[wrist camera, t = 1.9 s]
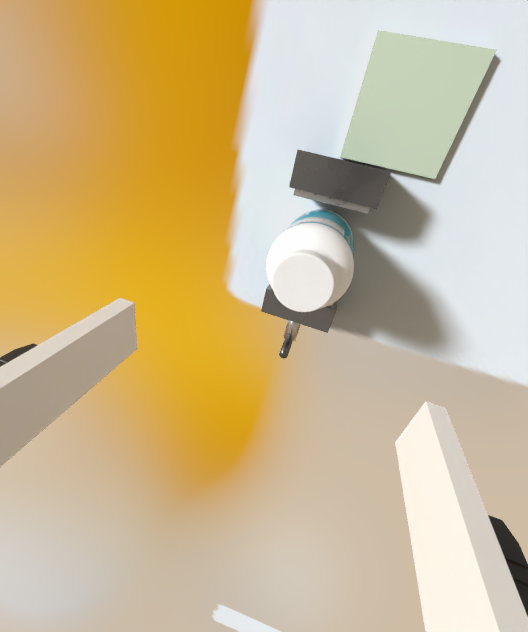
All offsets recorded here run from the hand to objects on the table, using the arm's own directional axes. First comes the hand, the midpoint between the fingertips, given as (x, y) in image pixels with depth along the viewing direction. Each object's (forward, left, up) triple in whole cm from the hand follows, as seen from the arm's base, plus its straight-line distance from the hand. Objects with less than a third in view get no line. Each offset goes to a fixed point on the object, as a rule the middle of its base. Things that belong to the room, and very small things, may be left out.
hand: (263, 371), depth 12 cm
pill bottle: (0, 0, -24) cm, 24 cm away
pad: (-13, +4, -23) cm, 27 cm away
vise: (+2, 0, -24) cm, 24 cm away
